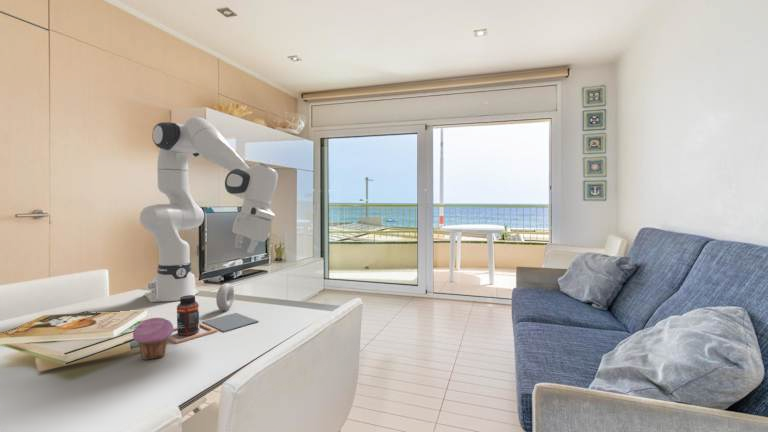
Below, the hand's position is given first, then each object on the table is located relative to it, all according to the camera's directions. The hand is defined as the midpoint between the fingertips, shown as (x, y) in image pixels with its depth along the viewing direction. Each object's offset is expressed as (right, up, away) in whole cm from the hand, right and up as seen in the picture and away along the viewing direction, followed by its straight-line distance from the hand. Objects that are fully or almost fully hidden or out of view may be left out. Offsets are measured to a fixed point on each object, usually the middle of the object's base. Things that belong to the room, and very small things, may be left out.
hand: (243, 250), depth 121 cm
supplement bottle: (-13, -25, -11) cm, 30 cm away
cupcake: (-13, -25, -27) cm, 39 cm away
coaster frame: (-13, -24, -11) cm, 30 cm away
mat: (-4, -24, -1) cm, 24 cm away
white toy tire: (-11, -24, +12) cm, 29 cm away
